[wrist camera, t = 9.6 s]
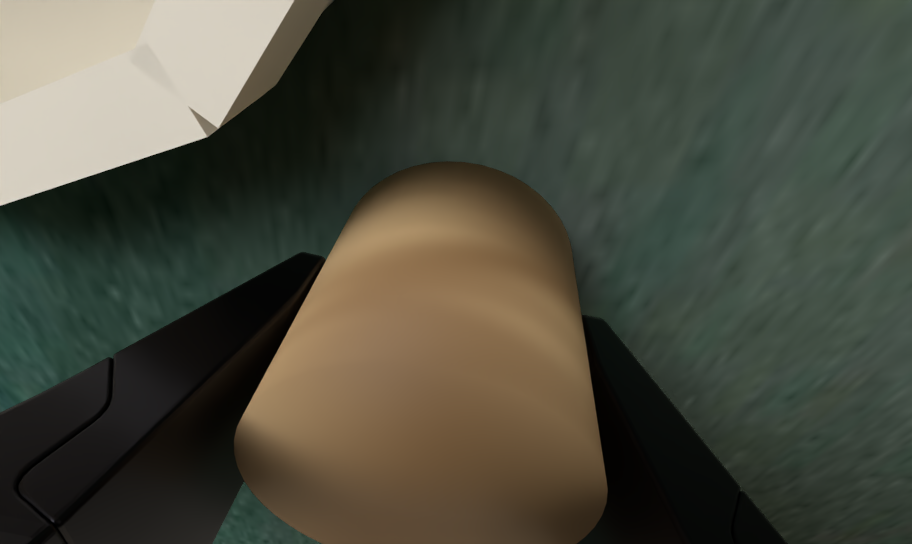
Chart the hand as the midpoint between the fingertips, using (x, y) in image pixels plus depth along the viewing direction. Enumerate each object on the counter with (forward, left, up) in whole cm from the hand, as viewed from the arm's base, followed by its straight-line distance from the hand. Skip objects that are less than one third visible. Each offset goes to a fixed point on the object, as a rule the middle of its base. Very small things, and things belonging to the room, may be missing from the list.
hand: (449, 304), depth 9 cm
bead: (0, 0, -1) cm, 1 cm away
